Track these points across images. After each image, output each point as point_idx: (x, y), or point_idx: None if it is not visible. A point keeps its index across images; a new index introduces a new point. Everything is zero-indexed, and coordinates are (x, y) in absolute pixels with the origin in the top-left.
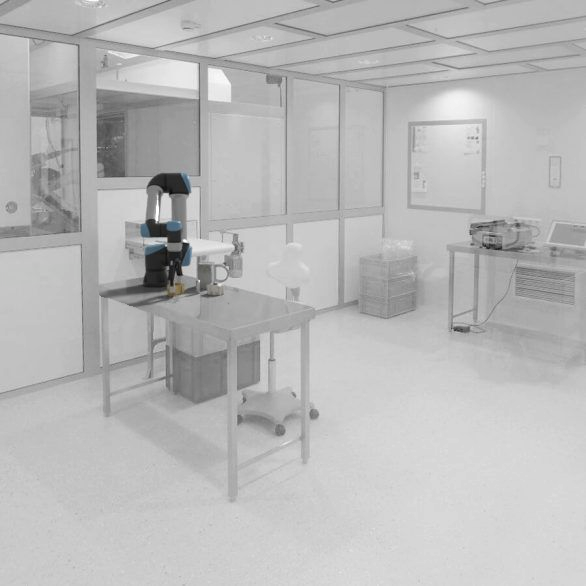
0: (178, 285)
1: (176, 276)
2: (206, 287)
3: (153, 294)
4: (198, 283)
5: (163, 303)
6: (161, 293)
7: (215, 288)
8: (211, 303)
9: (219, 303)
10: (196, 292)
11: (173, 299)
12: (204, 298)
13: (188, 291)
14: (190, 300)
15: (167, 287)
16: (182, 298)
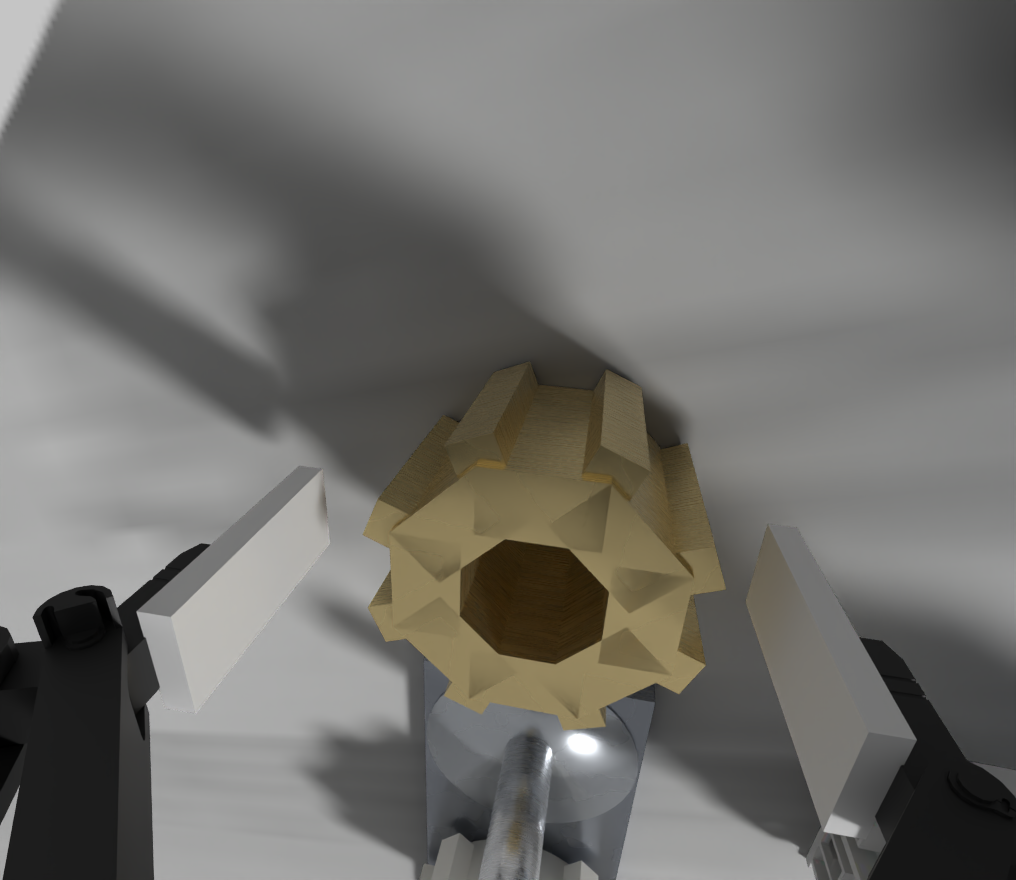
0: (422, 649)
1: (862, 729)
2: (844, 874)
3: (625, 46)
4: None
5: (28, 396)
6: (726, 206)
7: None
8: (203, 803)
9: (222, 848)
10: (509, 755)
11: (274, 484)
12: (395, 773)
13: (857, 630)
14: (271, 659)
15: (460, 425)
16: (354, 580)
